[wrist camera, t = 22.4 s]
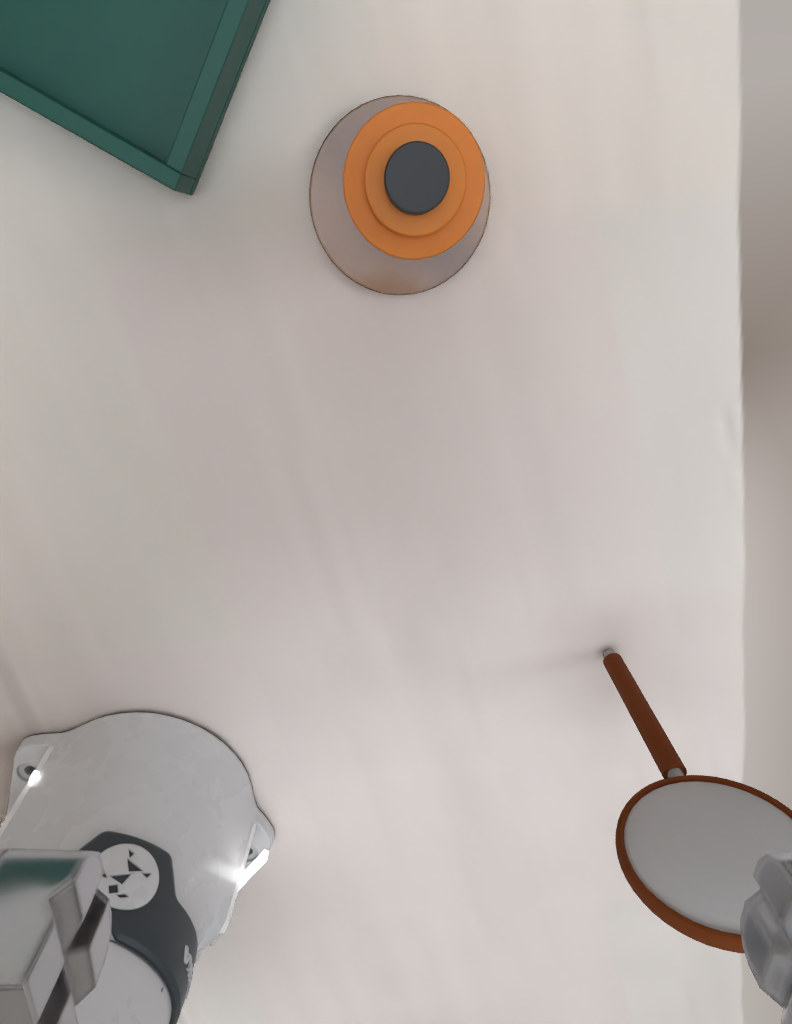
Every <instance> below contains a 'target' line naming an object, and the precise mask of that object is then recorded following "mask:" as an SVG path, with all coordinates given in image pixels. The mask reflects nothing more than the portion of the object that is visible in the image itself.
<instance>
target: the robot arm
mask: <svg viewBox="0 0 792 1024" xmlns="http://www.w3.org/2000/svg"><path fill="white" fill-rule="evenodd" d="M32 766H33V767H32ZM34 767H35V768H34ZM274 836H275V833H274V829H273V827H272V826H271V824H270V823H269V821H268V820H267V819H266V817H265V816H264V815H263V814H262V812H261V811H260V810H259V809H258V808H257V805H256V803H255V799H254V795H253V790H252V786H251V782H250V779H249V777H248V774H247V772H246V770H245V768H244V766H243V765H242V763H241V762H240V760H239V759H238V758H237V756H236V755H235V754H234V753H233V752H232V751H231V750H230V749H229V748H228V747H227V746H226V745H225V744H224V743H223V742H222V741H220V740H219V739H218V738H217V737H215V736H214V735H212V734H211V733H209V732H207V731H206V730H204V729H202V728H200V727H198V726H196V725H194V724H192V723H189V722H187V721H184V720H181V719H178V718H175V717H171V716H166V715H161V714H154V713H144V712H131V713H119V714H114V715H109V716H105V717H101V718H98V719H95V720H93V721H90V722H88V723H86V724H84V725H82V726H80V727H77V728H75V729H73V730H70V731H67V732H64V733H50V734H40V735H34V736H30V737H27V738H25V739H24V740H23V741H22V742H21V744H20V745H19V747H18V749H17V751H16V753H15V756H14V762H13V770H12V777H11V785H10V792H9V800H8V807H7V815H6V818H5V820H4V822H3V823H2V825H1V827H0V1024H176V1023H177V1021H178V1018H179V1015H180V1012H181V1009H182V1007H183V1004H184V1001H185V999H186V998H187V995H188V992H189V989H190V985H191V981H192V974H193V967H194V964H195V963H196V961H197V960H198V958H199V956H200V954H201V952H202V950H203V949H205V948H206V947H207V946H208V945H209V946H211V945H213V944H214V943H215V941H216V940H217V938H218V936H219V934H223V933H224V932H225V931H226V929H227V927H228V924H229V921H230V918H231V915H232V911H233V908H234V904H235V901H236V897H237V894H238V890H239V889H240V888H241V887H242V886H243V885H244V884H245V883H246V882H247V881H248V880H249V879H250V878H251V877H252V876H253V874H254V873H255V872H256V871H257V870H258V869H259V868H260V867H261V866H262V865H263V864H264V863H265V862H266V861H267V858H268V852H269V850H270V848H271V845H272V842H273V839H274ZM753 876H754V878H755V880H756V882H757V883H758V885H759V887H760V888H761V889H759V890H758V891H757V892H756V893H754V894H753V895H752V896H751V897H750V898H748V899H747V900H746V901H745V903H744V907H743V911H742V914H741V918H740V928H741V938H742V946H743V949H744V952H745V955H746V958H747V961H748V965H749V967H750V969H751V971H752V973H753V975H754V977H755V979H756V981H757V983H758V985H759V987H760V988H761V989H762V990H763V991H764V992H765V993H766V994H767V995H769V996H770V997H771V998H772V999H773V1000H774V1001H776V1002H777V1003H778V1004H779V1005H780V1006H781V1007H782V1008H783V1011H782V1019H781V1024H792V853H788V854H765V855H764V856H763V857H762V858H760V859H759V860H758V862H757V865H756V868H755V871H754V874H753Z"/></svg>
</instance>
